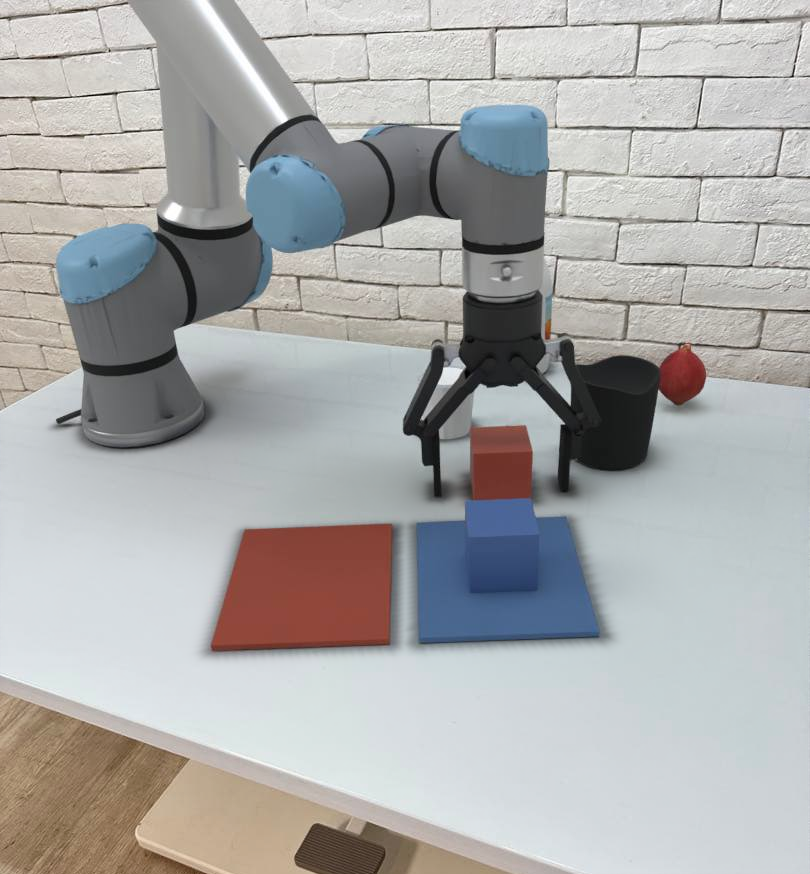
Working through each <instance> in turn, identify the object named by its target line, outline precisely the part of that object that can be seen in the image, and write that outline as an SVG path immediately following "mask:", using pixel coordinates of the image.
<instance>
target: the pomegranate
mask: <svg viewBox="0 0 810 874" xmlns="http://www.w3.org/2000/svg"><path fill="white" fill-rule="evenodd" d="M658 367H659V369H660V370H661V378H660V384H659V390H658V392H660V393H661V395H662V396H663V397H664V398H665V399H667V400H668V401H669V402H671V403H672V404H674V405H675V406H682V405H684V404H685V403H686V402H688V401H690V400H691V399H694V398H695V397H697V396H698V395H699V394H700V393H701V392H702V390H703V389H704V387H705V384H706V380H707V369H706V366H705V364H704V362H703V361H702V360H701V358H700V357H699V356H698V355H697V353H694V352H693V351H692V345H691V343H685V344H683V345H682V346H681V347H679V348H678V349H677V350H675V351H673V352H671V353H670V354H668V355H667V356H666V357H665V358H664V359H663V360H662V361H661V363H660V365H659V366H658Z"/></svg>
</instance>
